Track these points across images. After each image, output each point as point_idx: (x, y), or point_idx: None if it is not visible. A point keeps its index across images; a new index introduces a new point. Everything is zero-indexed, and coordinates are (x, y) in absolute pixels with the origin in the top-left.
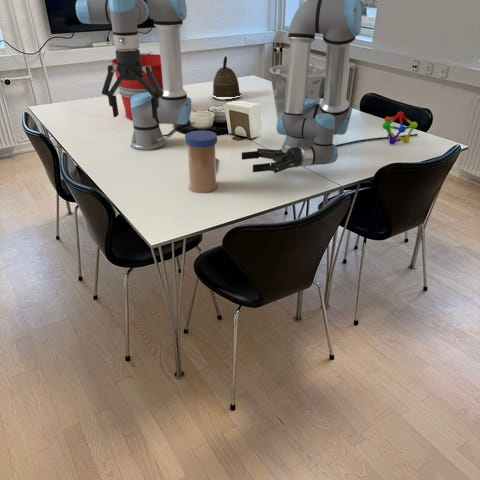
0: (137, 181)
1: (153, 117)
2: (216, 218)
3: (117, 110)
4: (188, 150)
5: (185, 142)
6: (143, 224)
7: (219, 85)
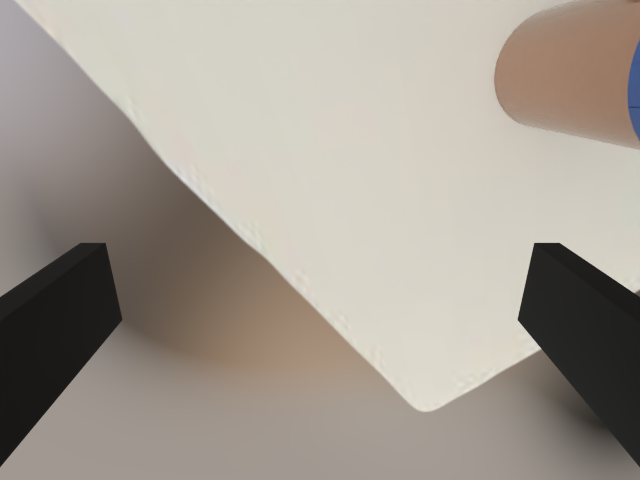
0: (258, 48)
1: (531, 325)
2: None
3: (78, 281)
4: (611, 114)
5: (630, 109)
6: (378, 347)
7: None
